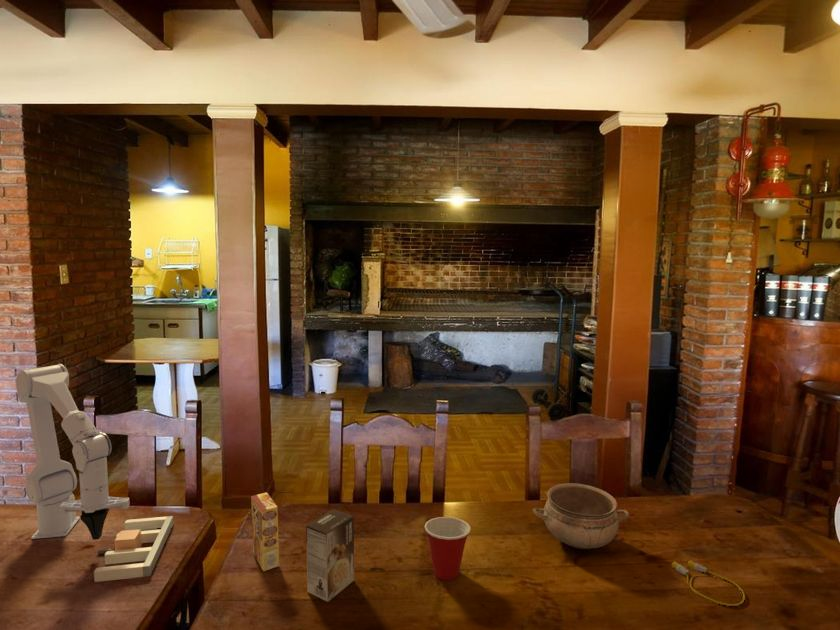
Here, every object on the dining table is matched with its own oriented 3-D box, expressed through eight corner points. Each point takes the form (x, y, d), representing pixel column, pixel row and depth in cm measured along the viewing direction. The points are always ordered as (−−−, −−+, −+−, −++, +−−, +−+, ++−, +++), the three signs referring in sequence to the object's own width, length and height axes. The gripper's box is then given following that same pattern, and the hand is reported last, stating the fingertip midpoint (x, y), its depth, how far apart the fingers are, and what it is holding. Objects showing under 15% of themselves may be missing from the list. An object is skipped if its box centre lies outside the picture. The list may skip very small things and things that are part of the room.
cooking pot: (539, 562, 129) (541, 516, 128) (524, 522, 148) (526, 481, 147) (640, 564, 129) (644, 518, 128) (613, 524, 148) (616, 483, 147)
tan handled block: (101, 548, 131) (100, 532, 131) (141, 545, 133) (140, 529, 132) (94, 559, 127) (93, 541, 126) (135, 556, 129) (134, 538, 128)
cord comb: (126, 528, 141) (126, 519, 140) (173, 524, 143) (172, 515, 143) (94, 582, 119) (93, 571, 118) (150, 576, 121) (149, 566, 121)
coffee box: (333, 571, 124) (333, 507, 122) (354, 580, 121) (355, 515, 119) (306, 592, 117) (305, 524, 114) (327, 603, 113) (327, 533, 111)
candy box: (280, 566, 126) (279, 506, 123) (262, 572, 123) (261, 511, 121) (268, 548, 133) (267, 491, 131) (251, 553, 130) (250, 495, 128)
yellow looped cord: (717, 566, 130) (718, 559, 130) (757, 610, 115) (758, 602, 114) (668, 565, 130) (669, 557, 130) (700, 608, 115) (701, 600, 115)
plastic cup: (467, 559, 130) (468, 514, 128) (470, 588, 119) (472, 538, 118) (423, 558, 130) (424, 512, 128) (423, 586, 119) (424, 537, 118)
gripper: (52, 494, 121) (56, 549, 123) (121, 490, 124) (124, 543, 126) (65, 481, 128) (69, 533, 130) (131, 477, 131) (133, 527, 133)
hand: (97, 537), depth 128 cm, fingers closed
